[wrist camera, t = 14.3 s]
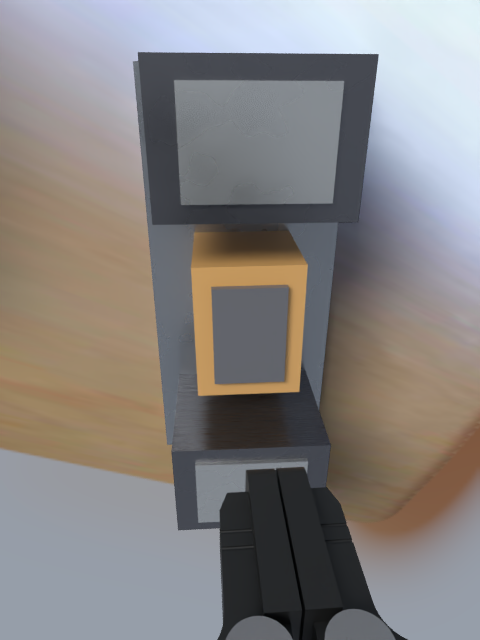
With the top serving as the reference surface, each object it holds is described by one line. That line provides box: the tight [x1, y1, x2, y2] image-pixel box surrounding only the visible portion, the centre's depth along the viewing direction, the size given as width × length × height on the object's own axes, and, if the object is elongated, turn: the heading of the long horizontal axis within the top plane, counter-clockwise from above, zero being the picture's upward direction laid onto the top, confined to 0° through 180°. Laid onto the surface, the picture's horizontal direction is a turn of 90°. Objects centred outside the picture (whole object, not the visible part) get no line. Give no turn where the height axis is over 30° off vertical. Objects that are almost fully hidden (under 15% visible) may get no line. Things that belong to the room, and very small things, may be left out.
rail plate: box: [133, 52, 379, 530], centre depth 21 cm, size 9×20×8 cm, turn 0°
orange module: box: [191, 231, 308, 396], centre depth 21 cm, size 6×4×5 cm
